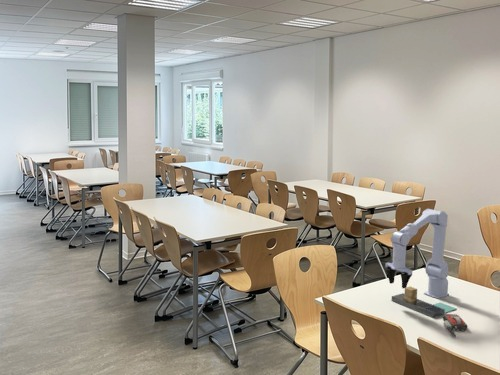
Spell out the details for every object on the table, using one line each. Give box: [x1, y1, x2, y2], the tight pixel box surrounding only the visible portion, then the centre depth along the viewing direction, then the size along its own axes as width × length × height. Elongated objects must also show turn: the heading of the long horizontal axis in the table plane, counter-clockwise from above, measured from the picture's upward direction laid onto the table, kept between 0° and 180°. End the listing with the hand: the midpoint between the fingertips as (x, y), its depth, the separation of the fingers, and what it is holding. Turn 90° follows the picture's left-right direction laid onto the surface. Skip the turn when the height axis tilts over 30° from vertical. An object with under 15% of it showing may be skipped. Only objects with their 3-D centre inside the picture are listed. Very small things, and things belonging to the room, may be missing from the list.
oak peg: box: [404, 286, 418, 303], centre depth 232 cm, size 4×4×8 cm
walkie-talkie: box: [441, 313, 468, 338], centre depth 206 cm, size 9×4×20 cm
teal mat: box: [432, 302, 457, 314], centre depth 228 cm, size 9×9×1 cm
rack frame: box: [391, 292, 446, 319], centre depth 229 cm, size 8×24×2 cm, turn 32°
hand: (397, 285), depth 229 cm, fingers open, 7 cm apart
